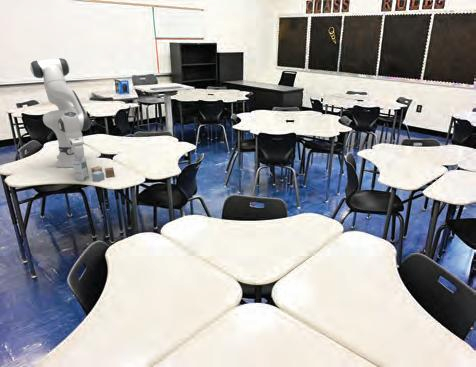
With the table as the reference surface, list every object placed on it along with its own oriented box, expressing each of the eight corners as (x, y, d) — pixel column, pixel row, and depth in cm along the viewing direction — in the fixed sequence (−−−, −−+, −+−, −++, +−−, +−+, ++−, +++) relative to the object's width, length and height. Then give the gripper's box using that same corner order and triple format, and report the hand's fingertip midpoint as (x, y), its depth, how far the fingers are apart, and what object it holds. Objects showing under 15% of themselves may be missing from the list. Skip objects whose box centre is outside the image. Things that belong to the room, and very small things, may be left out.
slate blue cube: (92, 180, 220) (91, 173, 218) (98, 178, 224) (97, 170, 222) (98, 182, 218) (97, 174, 216) (104, 179, 222) (103, 172, 220)
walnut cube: (105, 175, 228) (104, 168, 227) (113, 174, 230) (112, 167, 229) (106, 178, 224) (105, 170, 222) (114, 176, 226) (113, 169, 224)
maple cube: (92, 174, 230) (90, 167, 228) (99, 172, 234) (98, 165, 232) (95, 176, 227) (94, 169, 225) (103, 174, 231) (101, 167, 229)
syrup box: (83, 180, 220) (79, 158, 214) (75, 180, 221) (71, 158, 215) (89, 177, 225) (85, 156, 220) (81, 177, 226) (77, 155, 221)
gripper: (66, 137, 220) (70, 158, 225) (72, 143, 204) (77, 166, 209) (77, 135, 223) (81, 156, 228) (84, 142, 207) (88, 164, 212)
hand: (79, 161), depth 218 cm, fingers open, 8 cm apart
